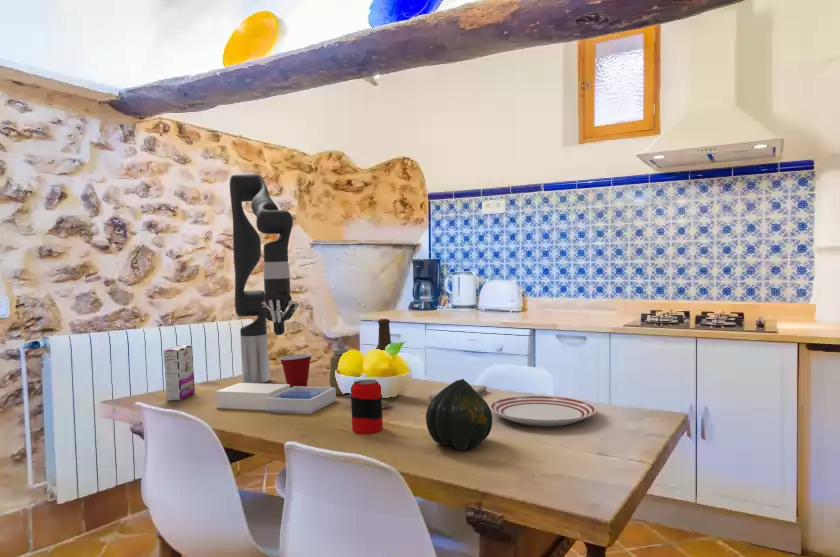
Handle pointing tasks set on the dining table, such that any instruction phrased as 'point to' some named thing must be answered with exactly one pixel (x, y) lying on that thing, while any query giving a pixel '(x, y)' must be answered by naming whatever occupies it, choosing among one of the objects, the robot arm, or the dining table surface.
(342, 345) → the squeeze bottle
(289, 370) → the plastic cup
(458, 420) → the squash
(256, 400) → the white flat block
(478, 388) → the washcloth
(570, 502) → the dining table surface
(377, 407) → the soda can
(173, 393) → the candy bar box
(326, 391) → the box
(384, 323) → the beer bottle
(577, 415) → the dinner plate
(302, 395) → the tile
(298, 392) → the tile
